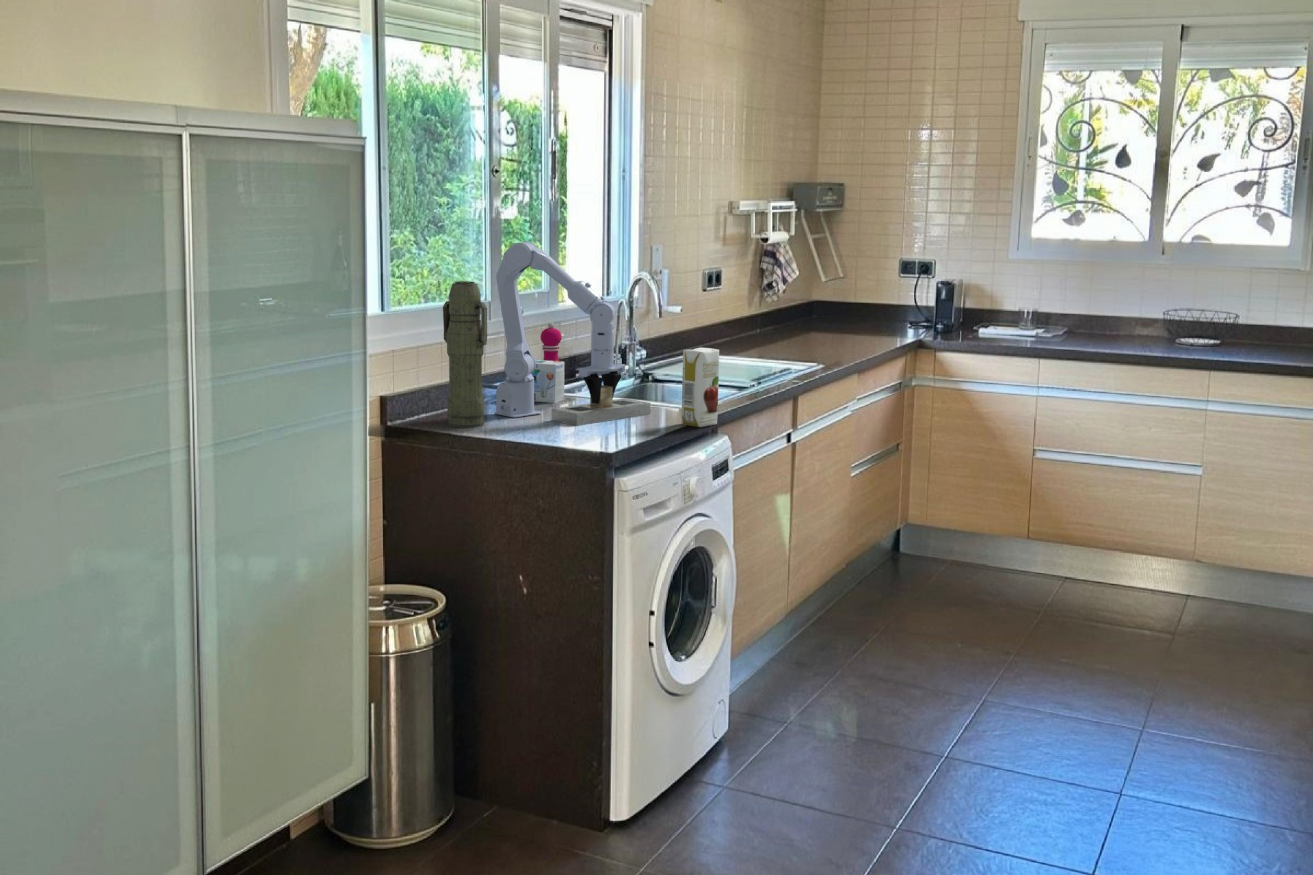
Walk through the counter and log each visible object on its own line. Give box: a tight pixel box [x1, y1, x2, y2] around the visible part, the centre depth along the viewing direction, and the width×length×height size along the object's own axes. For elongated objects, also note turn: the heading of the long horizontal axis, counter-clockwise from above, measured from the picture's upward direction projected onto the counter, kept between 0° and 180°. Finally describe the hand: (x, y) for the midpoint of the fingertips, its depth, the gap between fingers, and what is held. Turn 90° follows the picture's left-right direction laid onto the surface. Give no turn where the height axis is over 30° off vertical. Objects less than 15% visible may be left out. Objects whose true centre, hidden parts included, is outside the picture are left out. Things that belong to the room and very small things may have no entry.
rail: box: [551, 397, 651, 427], centre depth 336 cm, size 26×10×3 cm, turn 136°
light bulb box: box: [531, 359, 565, 404], centre depth 360 cm, size 11×7×11 cm, turn 73°
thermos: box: [442, 280, 488, 429], centre depth 319 cm, size 9×12×35 cm
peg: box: [589, 384, 613, 408], centre depth 335 cm, size 4×4×6 cm
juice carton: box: [681, 347, 720, 428], centre depth 327 cm, size 8×9×19 cm
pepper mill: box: [540, 322, 563, 361], centre depth 373 cm, size 7×7×20 cm
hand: (601, 402), depth 335 cm, fingers closed on peg, 4 cm apart
